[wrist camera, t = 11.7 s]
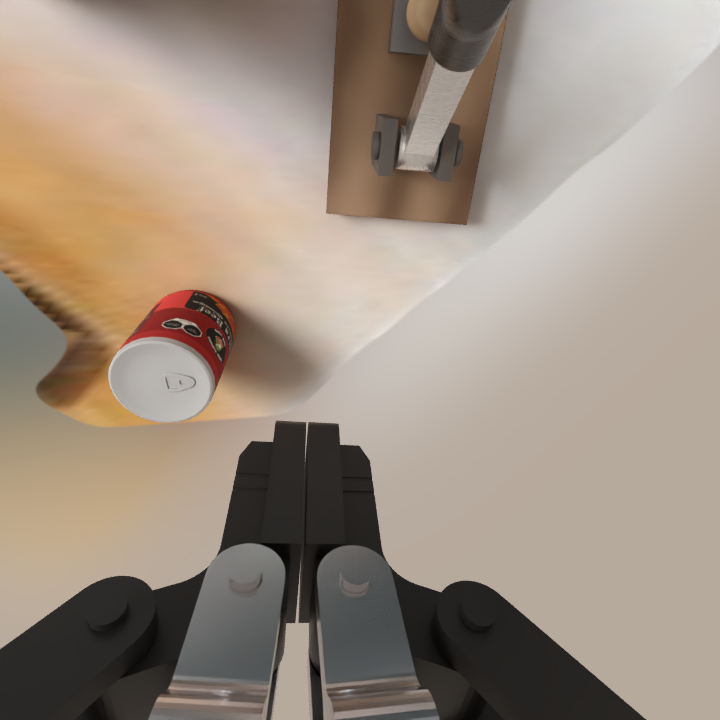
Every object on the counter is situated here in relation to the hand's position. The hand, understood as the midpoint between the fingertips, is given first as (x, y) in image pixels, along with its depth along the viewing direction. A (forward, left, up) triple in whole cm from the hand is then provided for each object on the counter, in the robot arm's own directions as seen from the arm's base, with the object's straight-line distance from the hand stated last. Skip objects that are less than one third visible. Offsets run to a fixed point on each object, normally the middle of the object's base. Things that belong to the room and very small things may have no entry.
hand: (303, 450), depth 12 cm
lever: (+6, +4, -29) cm, 30 cm away
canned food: (-12, -14, -35) cm, 39 cm away
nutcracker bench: (+6, +8, -34) cm, 36 cm away
